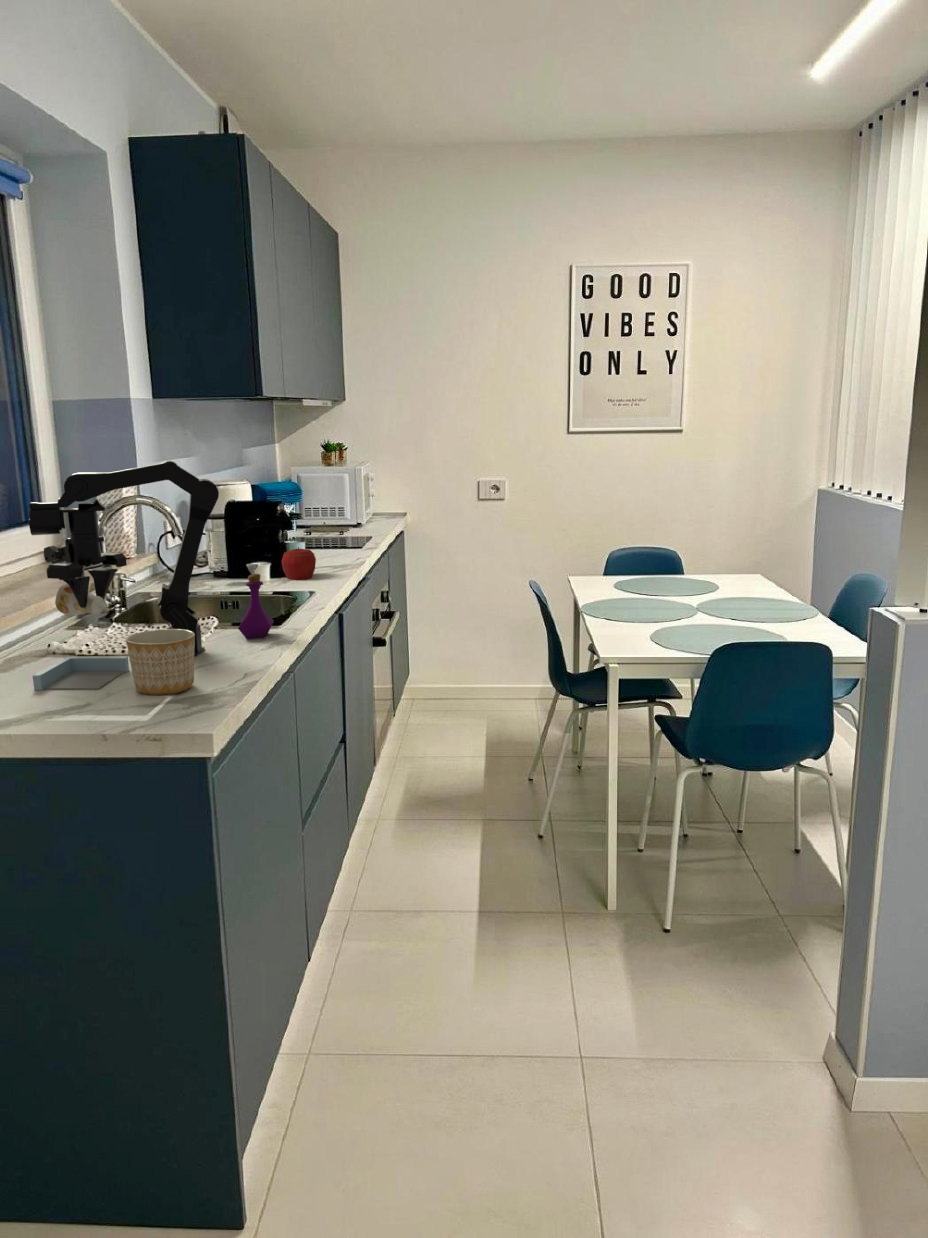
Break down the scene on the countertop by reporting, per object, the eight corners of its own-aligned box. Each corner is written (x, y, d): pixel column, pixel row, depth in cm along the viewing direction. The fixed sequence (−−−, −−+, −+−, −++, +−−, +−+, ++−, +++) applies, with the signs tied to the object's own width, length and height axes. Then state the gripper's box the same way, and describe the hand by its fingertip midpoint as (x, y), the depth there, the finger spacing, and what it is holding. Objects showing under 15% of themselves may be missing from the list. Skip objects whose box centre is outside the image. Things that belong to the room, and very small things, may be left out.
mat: (123, 672, 194) (123, 671, 194) (98, 689, 182) (98, 688, 182) (74, 672, 195) (73, 671, 194) (45, 689, 183) (45, 688, 183)
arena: (129, 670, 196) (127, 656, 195) (99, 690, 182) (98, 675, 181) (68, 670, 196) (66, 656, 196) (34, 690, 182) (32, 675, 182)
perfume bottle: (243, 634, 227) (238, 561, 223) (274, 633, 227) (270, 560, 223) (238, 642, 219) (233, 566, 216) (271, 640, 220) (266, 565, 216)
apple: (284, 580, 301) (282, 544, 298) (317, 579, 302) (315, 543, 299) (281, 586, 290) (279, 549, 287) (316, 585, 291) (314, 548, 289)
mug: (96, 617, 197) (65, 579, 195) (72, 636, 202) (41, 599, 200) (119, 603, 203) (89, 565, 201) (95, 622, 208) (65, 586, 206)
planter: (125, 685, 185) (120, 633, 183) (190, 675, 191) (186, 626, 189) (137, 701, 174) (132, 647, 172) (205, 691, 180) (201, 638, 178)
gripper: (82, 526, 209) (89, 595, 212) (20, 537, 191) (29, 612, 195) (124, 527, 206) (131, 597, 209) (65, 538, 188) (74, 614, 192)
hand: (91, 605), depth 201 cm, fingers closed on mug, 5 cm apart
